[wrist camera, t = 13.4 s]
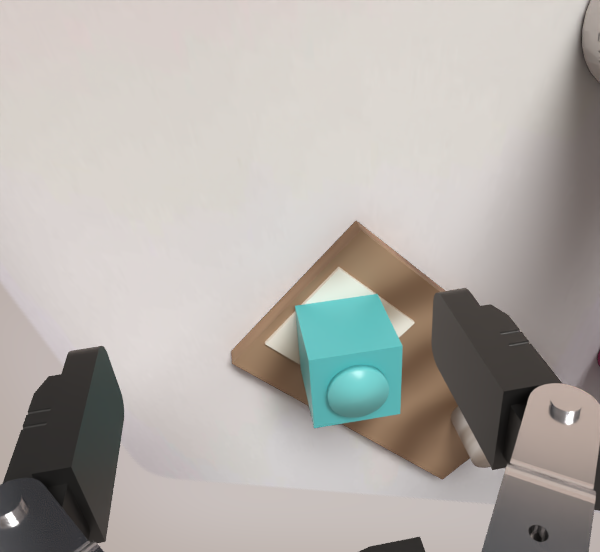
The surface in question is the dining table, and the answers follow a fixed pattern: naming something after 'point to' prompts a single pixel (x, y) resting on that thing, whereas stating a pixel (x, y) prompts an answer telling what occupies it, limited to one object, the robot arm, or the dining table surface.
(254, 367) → the board
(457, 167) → the dining table surface
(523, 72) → the dining table surface
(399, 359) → the teal stud brick
